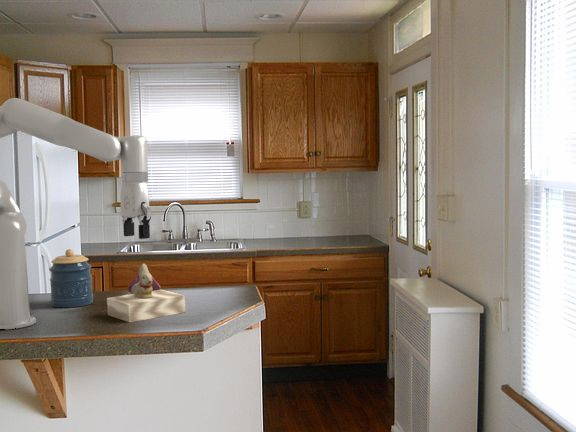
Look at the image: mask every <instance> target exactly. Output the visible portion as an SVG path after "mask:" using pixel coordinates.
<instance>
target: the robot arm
mask: <svg viewBox="0 0 576 432" xmlns="http://www.w3.org/2000/svg"><path fill="white" fill-rule="evenodd" d="M18 132H21V133H24V134H27V135H29V136H31V137H34V138H37V139H40V140H42V141H44V142H45V141H46V142H48V143H50V144H52V145H56V146H59V147H64V148H69V149H71V150H74V151H76V152H80V153H82V154H85V155H87V156H91V157H92V158H95V159H98V160H99V161H101V162H113V161H120V167H121V170H120V171H121V174H120V175H121V189H120V216H121V218H122V224H123V237H133V236H135V222H134V219H136V218H137V220H138V223H139V224H138V239H140V240H143V239H144V240H145V239H150V237H151V234H150V233H151V232H150V231H151V230H150V228H151V227H150V225H151V220H152V219H151V218H152V217H151V215H152V212H153V211H152V209H151V208H150V196H149V188H148V183H149V172H148V171H149V170H148V166H149V165H148V143H147V142H148V140H147V138H146V137H145V136H143V135H125V136H114V135H112V134H110V133H107V132H105V131H102V130H99V129H97V128H94V127H91V126H89V125H87V124H83V123H81V122H80V121H79V122H78V121H76V120H74V119H72V118H70V117H68V116H66V115H64V114H61V113H58V112H55V111H54V110H50V109H48V108H46V107H43V106H41V105H38V104H36V103H33V102H30V101H28V100H24V99H22V98H18V97H11V98H9V99H7V100H6V101H4V102H3V104H2V105H0V139H2V138H4V137H5V138H6V137H7V136H10V135H13V134H16V133H18ZM26 233H27V222H26V218H25V217H24V216H23V213H22V212H21V208H20V207H19V206H18V204H17V202H16V200H15V198H14V197H13V194H12V193H11V191H10V189H9V187H8V186H7V184H6V183H5V181H3V180H2V179H0V329H5V330H14V329H15V328H16V329H21V328H26V327H29V326H32V325H35V324H34V323H37V318H36V317H35V316H31V315H30V314H31V313H30V298H29V297H30V296H29V295H30V293H29V281H28V280H29V279H28V268H27V267H28V266H27V265H28V264H27V252H26V250H27V249H26V243H25V241H26V239H25V235H26ZM16 329H15V330H16Z"/></svg>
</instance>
